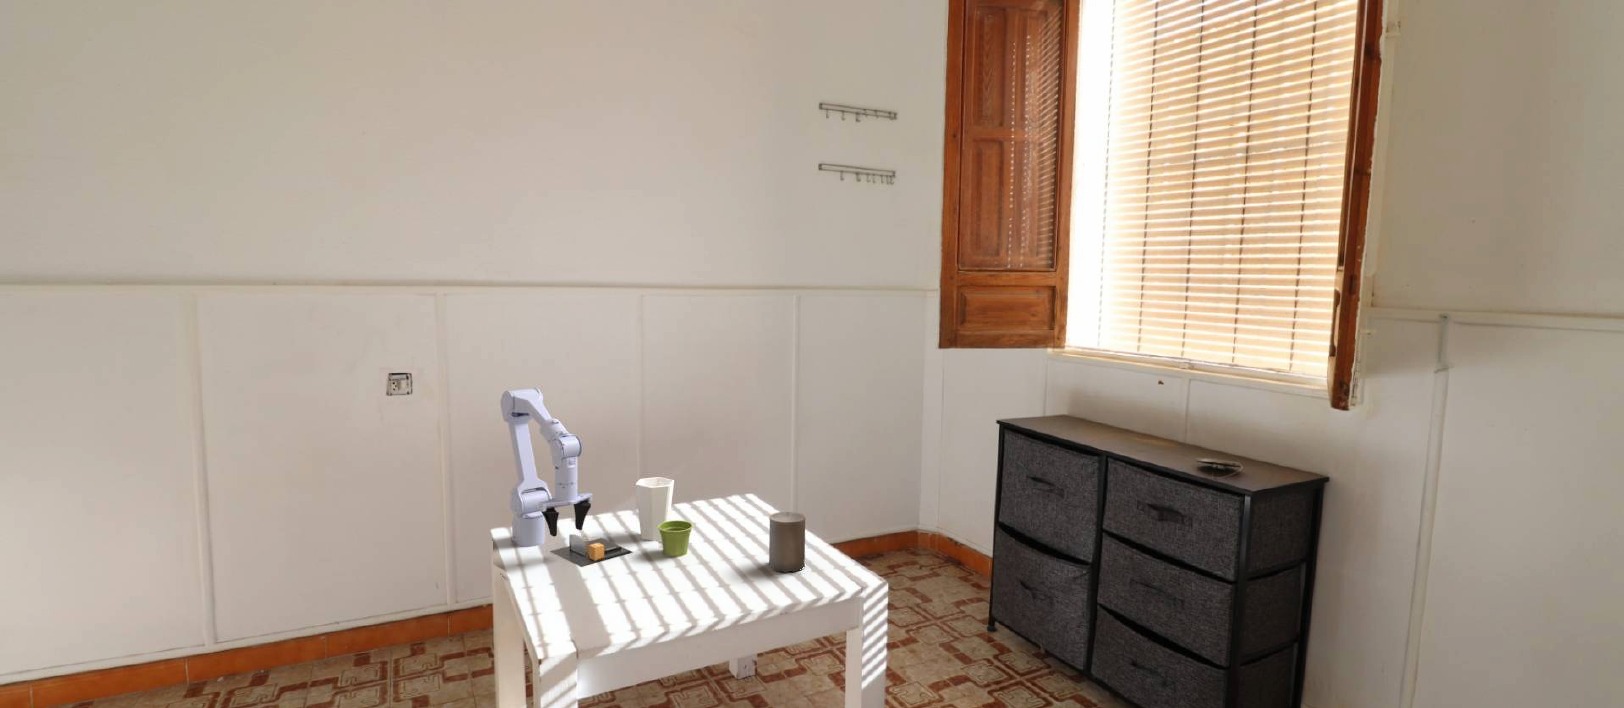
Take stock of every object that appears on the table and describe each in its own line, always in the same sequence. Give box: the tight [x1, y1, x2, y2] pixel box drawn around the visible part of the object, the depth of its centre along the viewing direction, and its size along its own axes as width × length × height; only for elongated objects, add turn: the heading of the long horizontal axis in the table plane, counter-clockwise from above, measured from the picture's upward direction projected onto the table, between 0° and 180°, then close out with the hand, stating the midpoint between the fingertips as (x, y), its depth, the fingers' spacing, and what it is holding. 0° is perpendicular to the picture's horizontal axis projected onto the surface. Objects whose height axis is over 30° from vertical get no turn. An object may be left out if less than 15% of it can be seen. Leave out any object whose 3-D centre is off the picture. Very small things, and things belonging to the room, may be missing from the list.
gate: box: [570, 534, 589, 556], centre depth 215 cm, size 7×1×4 cm, turn 47°
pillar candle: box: [768, 511, 806, 572], centre depth 212 cm, size 10×10×15 cm
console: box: [549, 533, 634, 568], centre depth 216 cm, size 16×16×5 cm
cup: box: [634, 476, 675, 543], centre depth 229 cm, size 11×10×17 cm
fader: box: [589, 543, 604, 561], centre depth 211 cm, size 3×3×4 cm
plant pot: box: [658, 519, 694, 558], centre depth 217 cm, size 9×9×9 cm
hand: (566, 532), depth 209 cm, fingers open, 7 cm apart
